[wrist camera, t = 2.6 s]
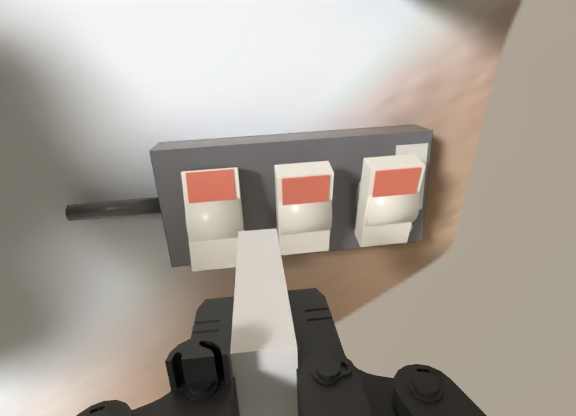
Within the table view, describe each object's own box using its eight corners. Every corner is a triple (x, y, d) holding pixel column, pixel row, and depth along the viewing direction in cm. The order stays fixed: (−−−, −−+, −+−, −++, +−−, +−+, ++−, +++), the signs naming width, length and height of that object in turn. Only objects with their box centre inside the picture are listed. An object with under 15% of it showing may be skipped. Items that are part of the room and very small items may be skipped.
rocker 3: (351, 226, 28) (363, 253, 26) (359, 151, 25) (374, 175, 22) (394, 221, 29) (410, 248, 26) (410, 147, 25) (430, 170, 22)
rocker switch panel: (91, 257, 29) (74, 278, 26) (61, 149, 26) (38, 159, 23) (406, 226, 32) (423, 242, 29) (414, 124, 29) (433, 130, 26)
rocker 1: (197, 262, 26) (190, 274, 23) (187, 171, 25) (178, 171, 22) (247, 257, 26) (246, 268, 23) (238, 167, 26) (236, 167, 22)
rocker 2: (276, 233, 28) (281, 262, 25) (272, 158, 24) (278, 183, 21) (321, 228, 28) (330, 257, 26) (325, 154, 24) (336, 178, 22)
